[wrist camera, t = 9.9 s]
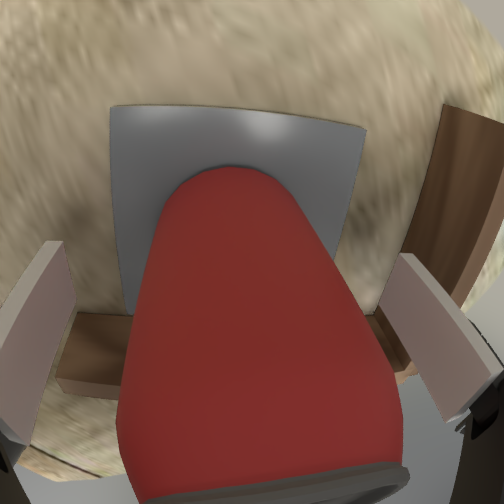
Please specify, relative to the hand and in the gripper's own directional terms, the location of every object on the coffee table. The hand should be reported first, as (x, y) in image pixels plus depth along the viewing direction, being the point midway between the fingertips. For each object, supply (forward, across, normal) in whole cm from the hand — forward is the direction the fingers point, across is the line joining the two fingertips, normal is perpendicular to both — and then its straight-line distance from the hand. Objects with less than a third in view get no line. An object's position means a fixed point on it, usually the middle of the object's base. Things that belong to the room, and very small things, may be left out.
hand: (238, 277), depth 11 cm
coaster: (+4, 0, 0) cm, 4 cm away
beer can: (+4, 0, 0) cm, 4 cm away
